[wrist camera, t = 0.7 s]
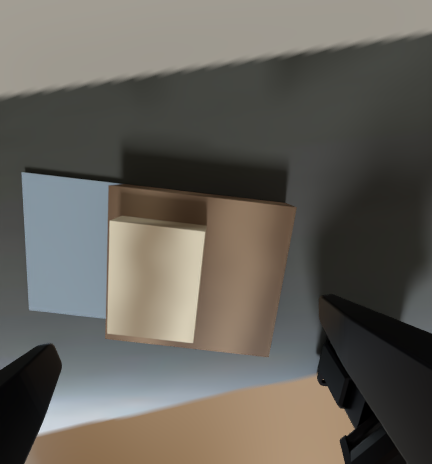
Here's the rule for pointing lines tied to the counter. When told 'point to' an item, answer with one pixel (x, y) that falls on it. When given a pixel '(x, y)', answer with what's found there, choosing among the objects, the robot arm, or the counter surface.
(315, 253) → the counter surface
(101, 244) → the mat
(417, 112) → the counter surface
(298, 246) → the counter surface
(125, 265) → the tile
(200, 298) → the plate
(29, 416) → the robot arm
